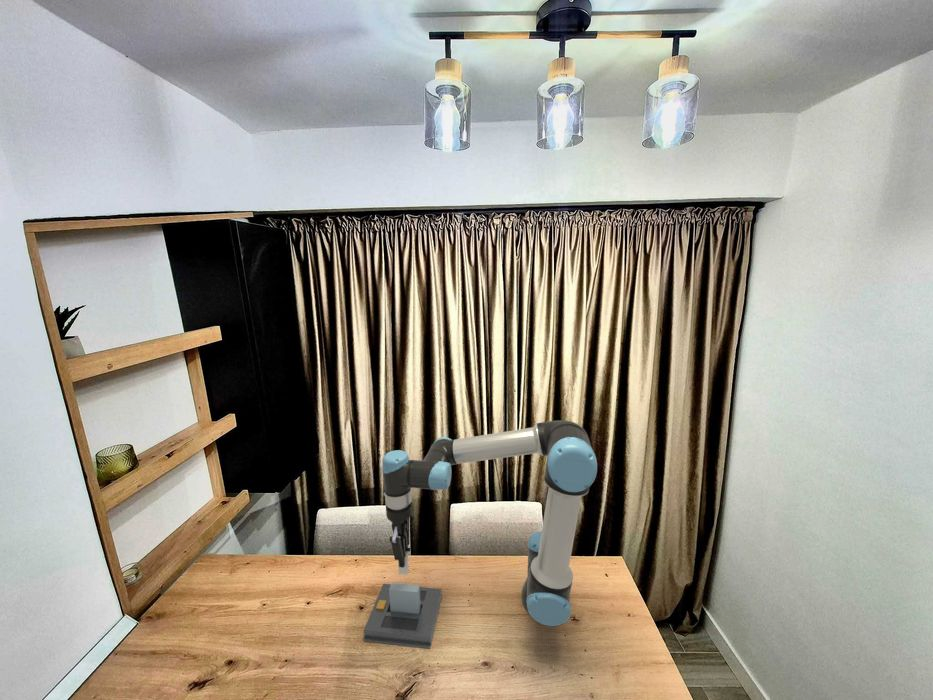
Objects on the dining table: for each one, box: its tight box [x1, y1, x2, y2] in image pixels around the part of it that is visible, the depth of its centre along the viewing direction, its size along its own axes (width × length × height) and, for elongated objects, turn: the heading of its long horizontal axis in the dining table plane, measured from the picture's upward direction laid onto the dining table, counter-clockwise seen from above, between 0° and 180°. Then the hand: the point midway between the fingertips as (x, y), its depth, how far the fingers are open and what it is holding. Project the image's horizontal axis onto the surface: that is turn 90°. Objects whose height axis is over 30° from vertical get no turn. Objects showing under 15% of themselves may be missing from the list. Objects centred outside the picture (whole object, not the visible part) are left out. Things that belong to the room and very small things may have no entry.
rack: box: [363, 583, 443, 650], centre depth 115 cm, size 20×18×4 cm
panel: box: [389, 582, 421, 615], centre depth 114 cm, size 9×2×10 cm, turn 83°
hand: (404, 572), depth 112 cm, fingers closed
